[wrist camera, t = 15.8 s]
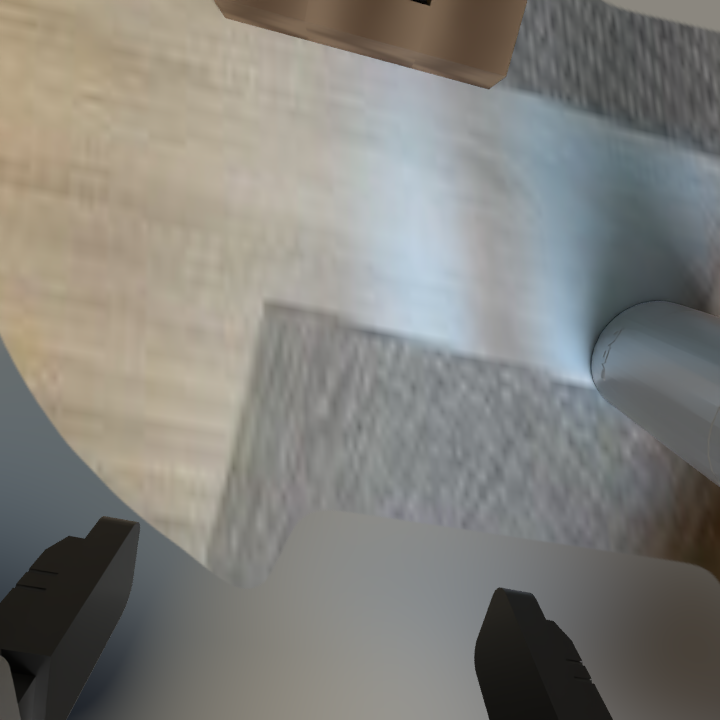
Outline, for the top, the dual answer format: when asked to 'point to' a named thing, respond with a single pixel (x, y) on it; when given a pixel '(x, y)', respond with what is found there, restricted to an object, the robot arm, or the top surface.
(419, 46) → the socket block
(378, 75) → the top surface
